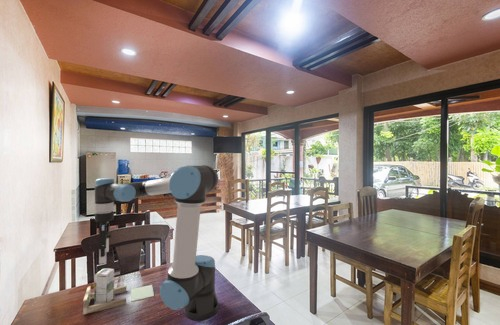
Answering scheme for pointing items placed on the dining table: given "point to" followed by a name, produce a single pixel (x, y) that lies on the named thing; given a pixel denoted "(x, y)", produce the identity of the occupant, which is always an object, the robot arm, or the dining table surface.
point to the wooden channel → (104, 305)
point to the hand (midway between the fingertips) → (104, 257)
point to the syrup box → (104, 286)
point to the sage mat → (142, 293)
